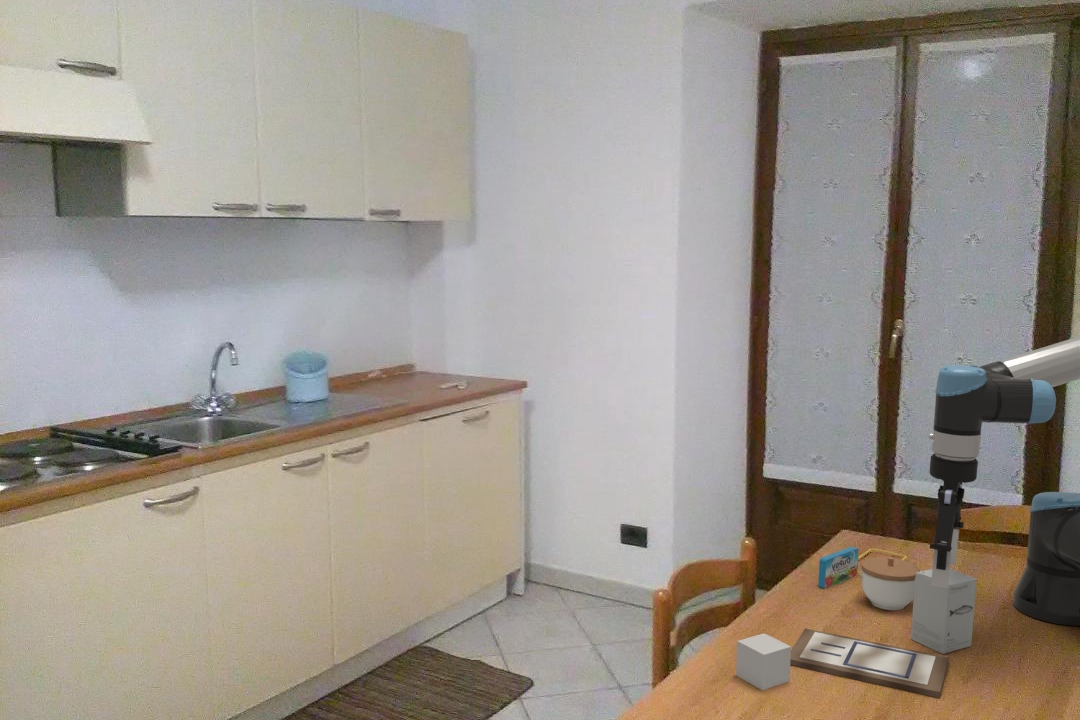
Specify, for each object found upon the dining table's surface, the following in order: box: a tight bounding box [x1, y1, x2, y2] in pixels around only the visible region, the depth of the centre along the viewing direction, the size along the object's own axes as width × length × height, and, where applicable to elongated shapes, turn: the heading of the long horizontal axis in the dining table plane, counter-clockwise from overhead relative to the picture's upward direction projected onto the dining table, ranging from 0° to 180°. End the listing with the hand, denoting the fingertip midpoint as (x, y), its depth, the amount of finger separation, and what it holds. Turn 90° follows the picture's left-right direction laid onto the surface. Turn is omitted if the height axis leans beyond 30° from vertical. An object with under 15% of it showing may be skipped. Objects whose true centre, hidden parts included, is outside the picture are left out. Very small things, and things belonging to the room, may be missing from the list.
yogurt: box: [817, 546, 860, 590], centre depth 200 cm, size 12×2×6 cm, turn 130°
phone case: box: [857, 548, 908, 577], centre depth 210 cm, size 8×17×1 cm, turn 141°
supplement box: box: [910, 568, 978, 655], centre depth 170 cm, size 7×7×13 cm
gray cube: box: [735, 632, 792, 691], centre depth 156 cm, size 6×6×6 cm
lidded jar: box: [860, 556, 921, 611], centre depth 188 cm, size 11×11×9 cm
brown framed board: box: [790, 627, 950, 699], centre depth 162 cm, size 24×14×1 cm, turn 62°
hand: (943, 574), depth 169 cm, fingers open, 13 cm apart
